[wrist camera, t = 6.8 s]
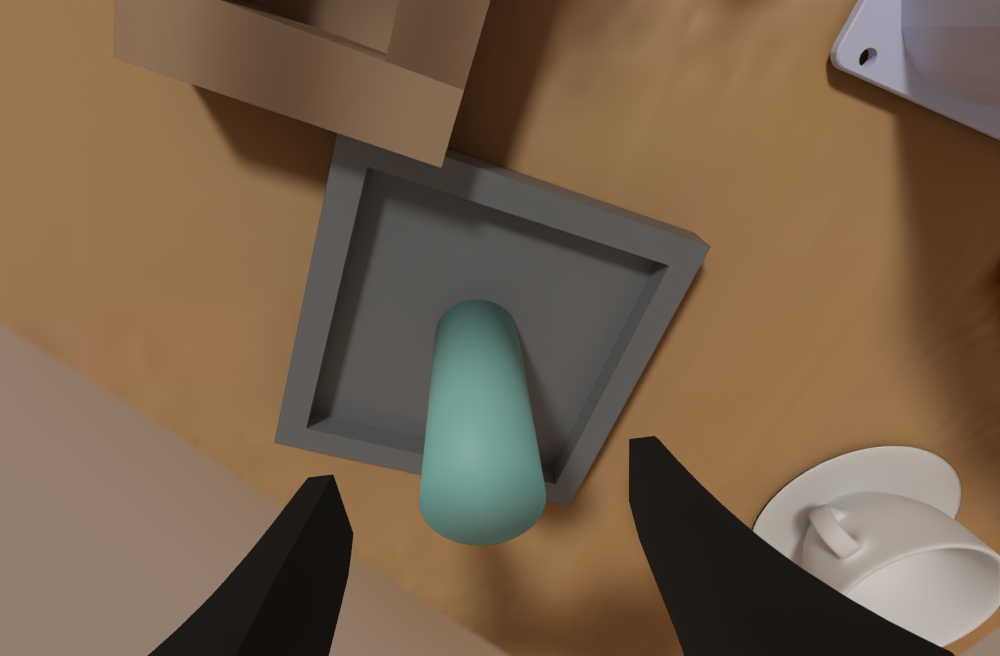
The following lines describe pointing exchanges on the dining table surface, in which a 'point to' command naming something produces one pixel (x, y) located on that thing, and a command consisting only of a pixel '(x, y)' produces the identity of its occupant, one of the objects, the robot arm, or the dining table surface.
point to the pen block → (319, 60)
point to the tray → (466, 276)
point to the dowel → (480, 431)
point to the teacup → (889, 539)
